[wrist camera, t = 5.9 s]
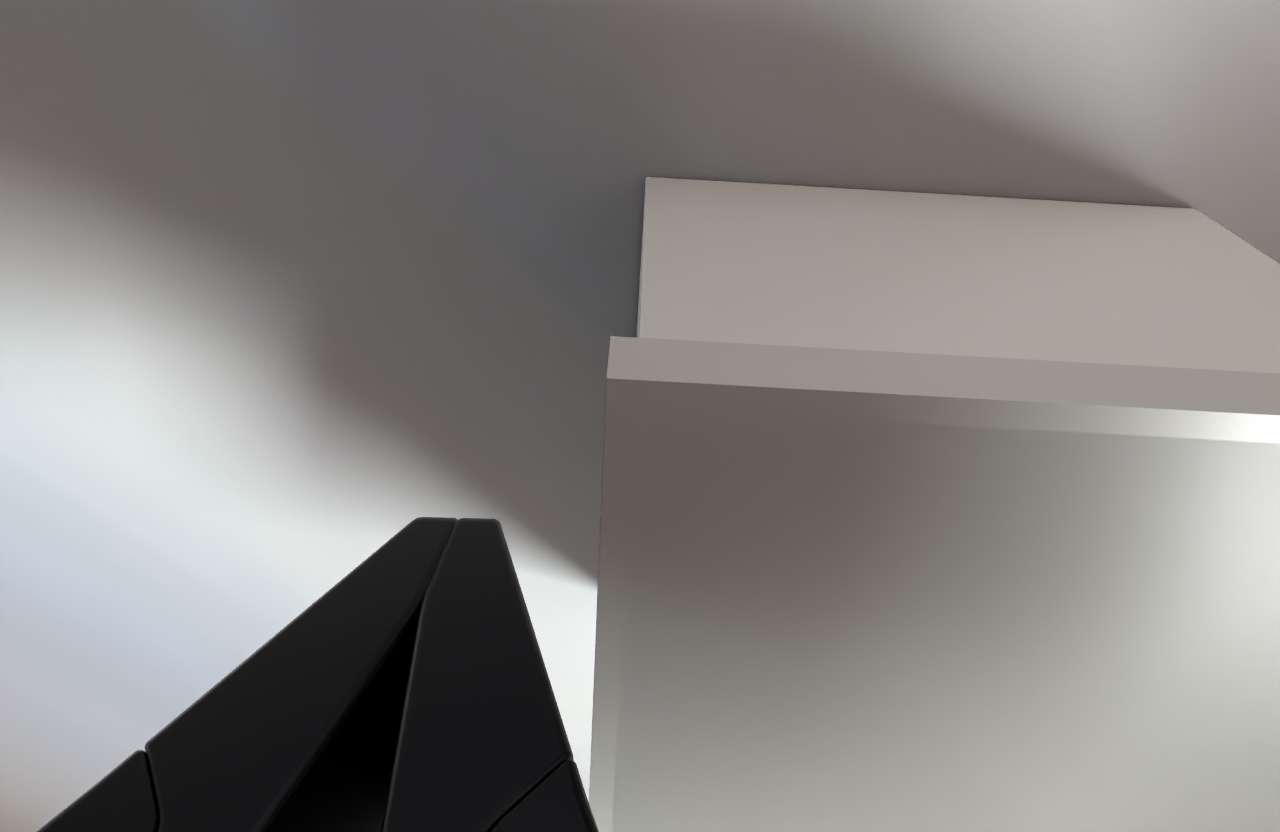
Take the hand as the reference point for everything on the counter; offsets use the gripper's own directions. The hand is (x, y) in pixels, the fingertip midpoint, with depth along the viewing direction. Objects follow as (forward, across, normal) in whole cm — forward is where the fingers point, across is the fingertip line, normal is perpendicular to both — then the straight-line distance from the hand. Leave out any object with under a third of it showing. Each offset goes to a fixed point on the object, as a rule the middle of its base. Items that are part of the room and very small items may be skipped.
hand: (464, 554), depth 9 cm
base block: (+3, -4, 0) cm, 5 cm away
